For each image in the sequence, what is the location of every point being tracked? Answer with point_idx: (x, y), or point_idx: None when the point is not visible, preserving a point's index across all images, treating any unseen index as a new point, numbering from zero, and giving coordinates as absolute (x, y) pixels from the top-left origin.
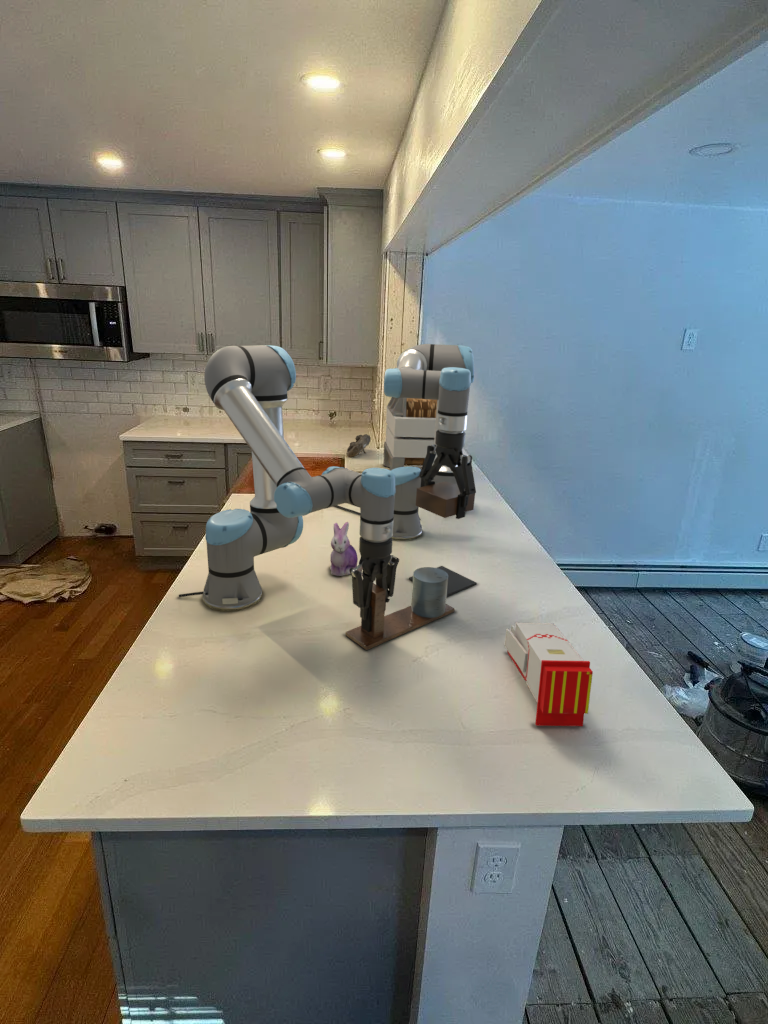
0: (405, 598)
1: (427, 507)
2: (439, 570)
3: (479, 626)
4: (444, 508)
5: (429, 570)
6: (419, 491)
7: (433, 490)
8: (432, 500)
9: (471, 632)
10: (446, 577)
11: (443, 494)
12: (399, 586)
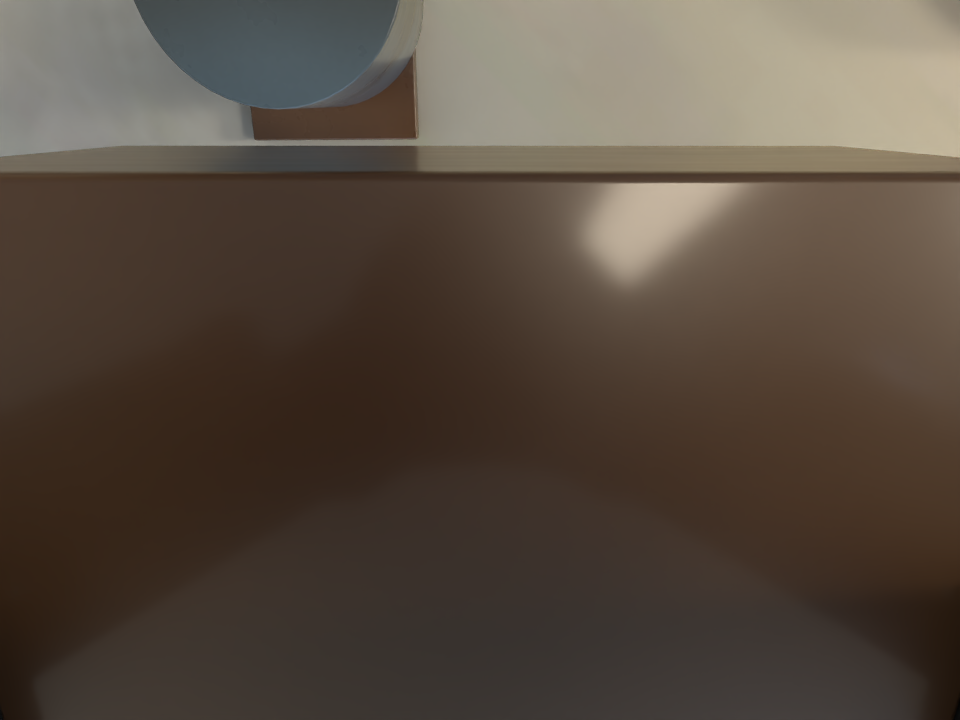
0: (521, 14)
1: (543, 147)
2: (286, 81)
3: (82, 134)
4: (45, 154)
5: (325, 9)
6: (945, 169)
7: (640, 433)
8: (413, 158)
9: (51, 50)
10: (163, 33)
11: (248, 424)
12: (646, 91)
